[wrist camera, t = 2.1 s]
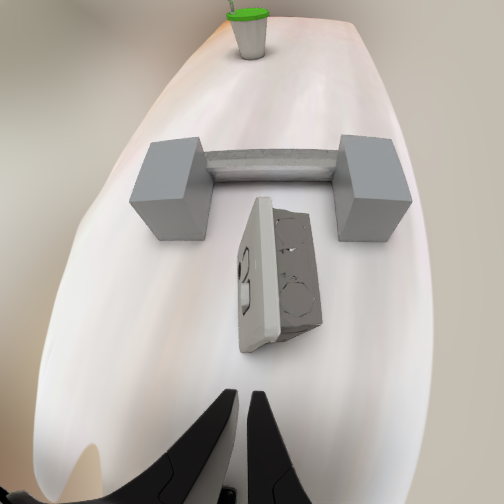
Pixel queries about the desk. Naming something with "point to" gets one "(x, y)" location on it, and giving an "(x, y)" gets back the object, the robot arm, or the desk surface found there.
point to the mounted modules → (201, 184)
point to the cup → (249, 30)
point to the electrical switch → (276, 277)
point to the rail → (272, 165)
